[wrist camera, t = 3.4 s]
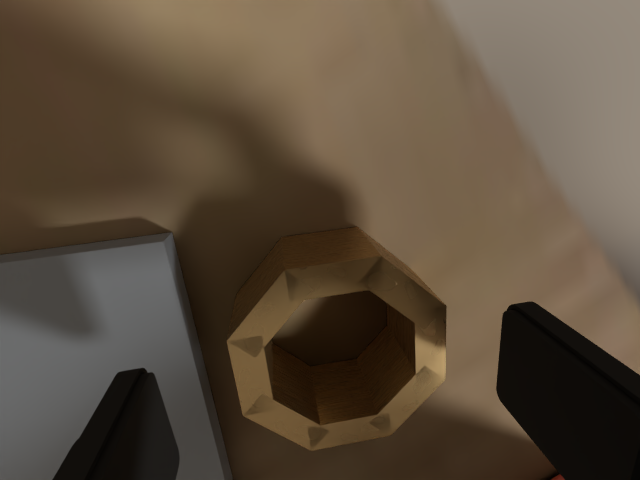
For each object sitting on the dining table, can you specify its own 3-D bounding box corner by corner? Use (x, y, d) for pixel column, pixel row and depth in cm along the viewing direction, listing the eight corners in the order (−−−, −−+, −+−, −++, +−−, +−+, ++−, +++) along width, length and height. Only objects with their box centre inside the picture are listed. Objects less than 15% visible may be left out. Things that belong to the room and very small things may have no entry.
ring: (408, 219, 13) (447, 246, 10) (412, 369, 15) (444, 425, 12) (226, 244, 12) (213, 280, 10) (256, 396, 15) (253, 462, 12)
